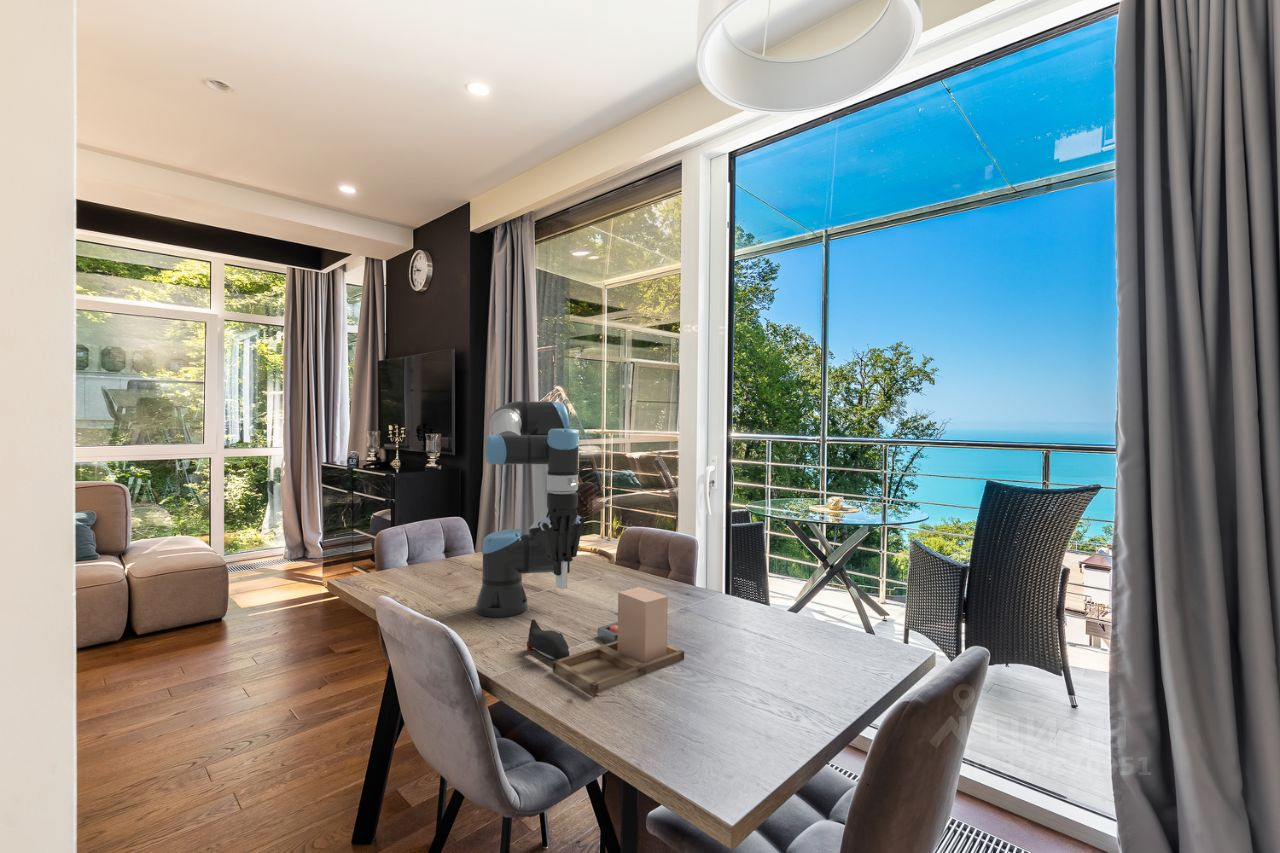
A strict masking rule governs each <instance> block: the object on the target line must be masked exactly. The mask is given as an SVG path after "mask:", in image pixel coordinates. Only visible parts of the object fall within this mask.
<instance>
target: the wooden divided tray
mask: <svg viewBox="0 0 1280 853" xmlns="http://www.w3.org/2000/svg"><path fill="white" fill-rule="evenodd" d="M684 660H685V651H684V650H681V649H679V648H676V647H674V646H673V645H671V644H668V643H667V655H666V656H663V657H660V658H658V659H655V660H652V661H649V662H647V663H644V664H642V663H640V662H638V661H636V660H634V659H632V658H630V657H628V656H626V655H624V654H622V653H620V652H618V641H615V642H612V643H609V642H607V643H605V644H603V645H600V646H597V647H593V648H590V649H586V650H585V651H581V652H577V653H575V654H571V655H570V656H568V657H564V658H561V659H554V660H553V661H552V673H553V674H554V675H556V676H558V677H559V678H561V679H563V680H565V681H566V682H567V683H569V684H571V685H572V686H574V687H575V688H577V689H579V690H581V691H582V692H583V693H585V694H587V695H589V696H590V697H592V698H596V697H598V696H599V695H598V693H600V692H603V691H606V690H608V689H610V688H613V687H615V686H619V685H622V684H624V683H627V682H629V681H631V680H634V679H636V678H639V677H642V676H645V675H647V674H649V673H652V672H654V671H657V670H660V669H662V668H665V667H668V666H671V665H673V664H675V663H678V662H680V661H681V662H682V661H684Z"/></svg>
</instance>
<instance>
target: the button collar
mask: <svg viewBox="0 0 1280 853" xmlns="http://www.w3.org/2000/svg"><path fill="white" fill-rule="evenodd" d="M613 625H618V621H616V622H613V623H610V624H605V625H603V626H600V627H597V638H599V639H600V640H602V641H605V642H607V643H612V642H615V641H618V632H617V633H614V632H612V631H610V626H613Z"/></svg>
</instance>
